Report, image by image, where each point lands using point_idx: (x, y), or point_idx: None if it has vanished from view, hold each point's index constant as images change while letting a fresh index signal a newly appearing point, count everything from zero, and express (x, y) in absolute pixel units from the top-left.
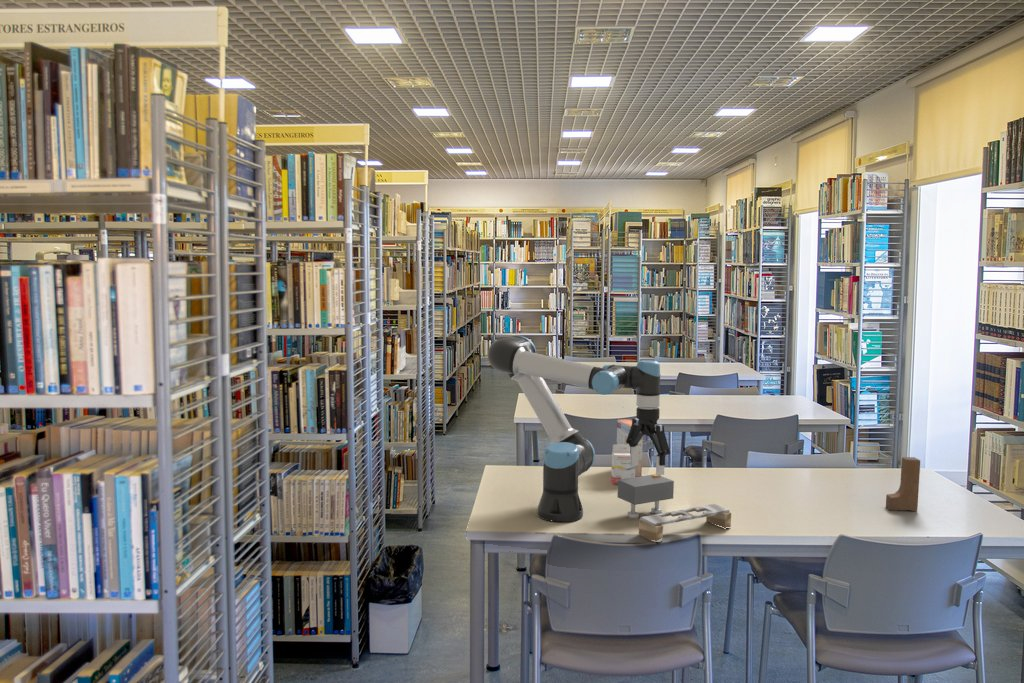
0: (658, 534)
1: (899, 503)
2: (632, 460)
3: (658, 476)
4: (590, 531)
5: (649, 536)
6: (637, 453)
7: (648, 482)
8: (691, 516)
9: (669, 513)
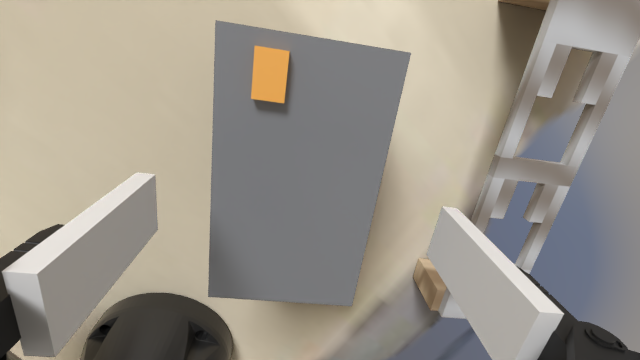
0: None
1: None
2: (137, 252)
3: (288, 71)
4: (317, 349)
5: None
6: (98, 236)
7: (336, 207)
8: (567, 185)
9: (487, 222)
